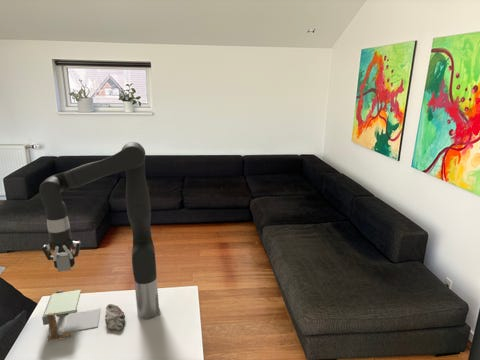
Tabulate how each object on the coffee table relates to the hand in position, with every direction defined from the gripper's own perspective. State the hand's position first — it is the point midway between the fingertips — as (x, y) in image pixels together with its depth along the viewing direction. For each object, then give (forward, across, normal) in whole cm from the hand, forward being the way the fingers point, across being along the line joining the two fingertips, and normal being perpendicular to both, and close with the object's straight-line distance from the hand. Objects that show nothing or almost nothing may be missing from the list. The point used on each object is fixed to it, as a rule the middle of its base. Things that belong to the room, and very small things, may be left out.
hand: (65, 266), depth 138 cm
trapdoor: (+20, -3, 0) cm, 21 cm away
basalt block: (+1, 0, 0) cm, 1 cm away
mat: (+27, +3, +1) cm, 27 cm away
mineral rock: (+27, +16, -3) cm, 32 cm away
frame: (+27, -4, 0) cm, 27 cm away
